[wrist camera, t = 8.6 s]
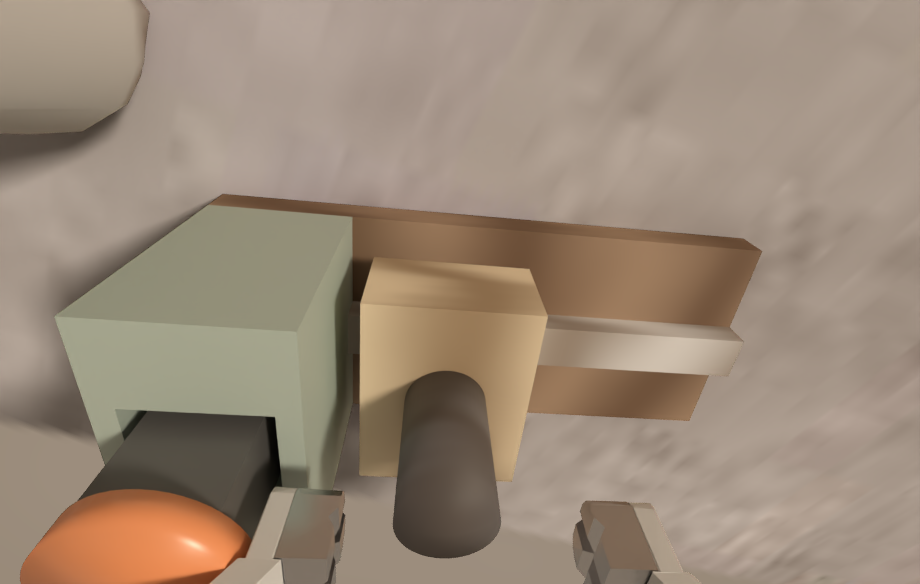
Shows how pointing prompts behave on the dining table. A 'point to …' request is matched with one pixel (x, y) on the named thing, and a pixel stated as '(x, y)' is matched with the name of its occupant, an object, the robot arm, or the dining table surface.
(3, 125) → the salt shaker
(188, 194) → the dining table surface
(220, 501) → the button
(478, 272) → the carriage
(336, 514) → the robot arm
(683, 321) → the rail bed
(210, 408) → the end cabinet
